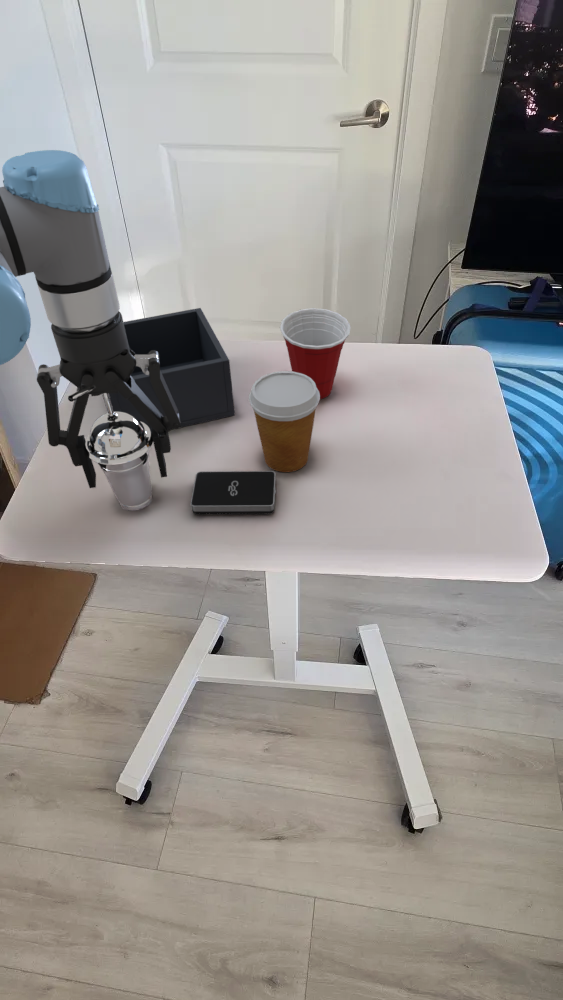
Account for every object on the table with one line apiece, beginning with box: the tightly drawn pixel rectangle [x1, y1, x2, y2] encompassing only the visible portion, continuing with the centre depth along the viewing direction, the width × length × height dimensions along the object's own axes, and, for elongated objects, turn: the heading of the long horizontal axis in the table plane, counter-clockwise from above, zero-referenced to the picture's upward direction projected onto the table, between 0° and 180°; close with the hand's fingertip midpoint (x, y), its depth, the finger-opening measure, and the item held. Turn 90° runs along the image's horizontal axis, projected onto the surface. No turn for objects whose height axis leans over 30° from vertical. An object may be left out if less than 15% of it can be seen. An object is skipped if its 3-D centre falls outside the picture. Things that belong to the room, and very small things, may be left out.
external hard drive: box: [190, 470, 277, 515], centre depth 84 cm, size 7×11×2 cm, turn 89°
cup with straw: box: [67, 384, 154, 512], centre depth 78 cm, size 8×9×20 cm
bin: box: [108, 307, 236, 432], centre depth 100 cm, size 18×18×10 cm
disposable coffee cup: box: [248, 370, 321, 473], centre depth 87 cm, size 10×10×12 cm
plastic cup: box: [279, 307, 352, 400], centre depth 99 cm, size 11×11×12 cm
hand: (128, 475), depth 82 cm, fingers closed on cup with straw, 8 cm apart
